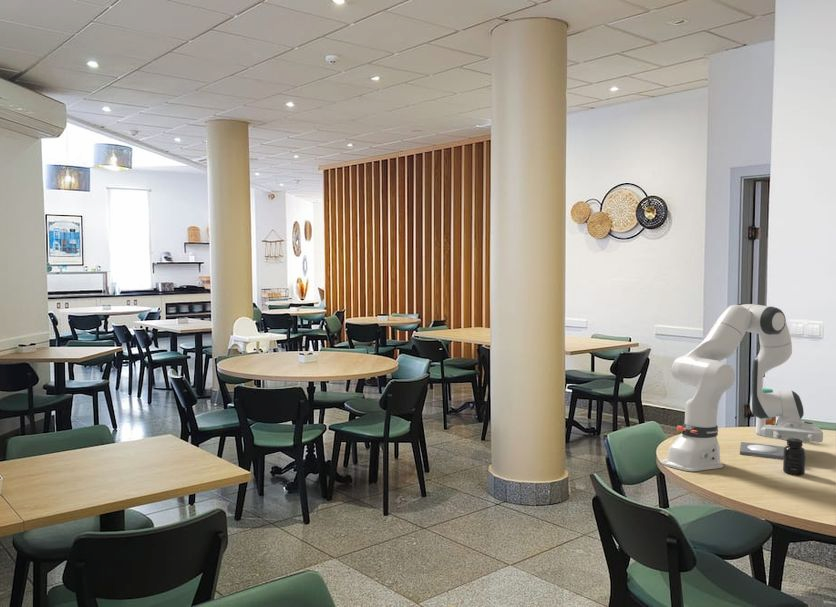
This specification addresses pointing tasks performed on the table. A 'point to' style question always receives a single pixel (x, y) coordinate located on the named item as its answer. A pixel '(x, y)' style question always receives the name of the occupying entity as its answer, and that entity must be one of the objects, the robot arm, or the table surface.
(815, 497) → the table surface
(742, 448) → the charging pad
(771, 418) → the milk bottle
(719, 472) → the table surface
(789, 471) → the supplement bottle
